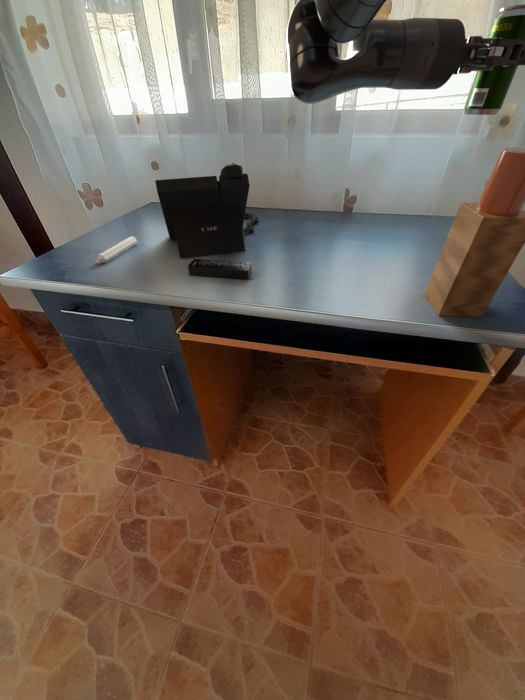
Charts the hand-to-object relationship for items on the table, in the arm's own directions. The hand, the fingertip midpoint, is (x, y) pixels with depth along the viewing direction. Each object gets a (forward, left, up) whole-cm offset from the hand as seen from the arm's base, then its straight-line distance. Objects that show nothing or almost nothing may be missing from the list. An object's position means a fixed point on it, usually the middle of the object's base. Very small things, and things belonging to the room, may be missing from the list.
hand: (515, 56), depth 46 cm
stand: (+1, +15, -36) cm, 39 cm away
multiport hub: (+50, +4, -37) cm, 62 cm away
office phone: (+55, -21, -37) cm, 69 cm away
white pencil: (+80, -5, -37) cm, 88 cm away
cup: (+1, +15, -18) cm, 24 cm away
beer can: (+2, +1, -7) cm, 8 cm away
